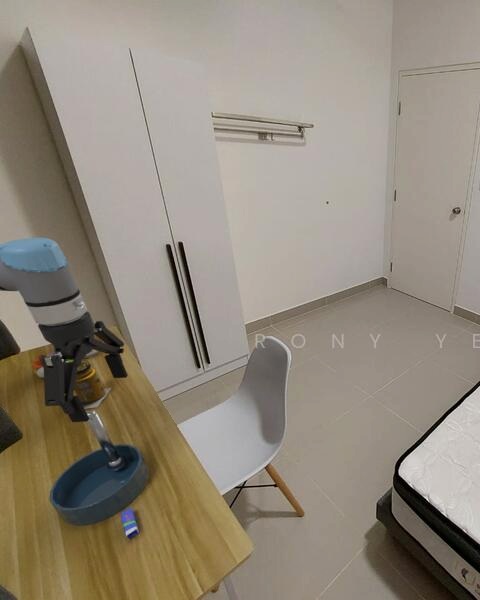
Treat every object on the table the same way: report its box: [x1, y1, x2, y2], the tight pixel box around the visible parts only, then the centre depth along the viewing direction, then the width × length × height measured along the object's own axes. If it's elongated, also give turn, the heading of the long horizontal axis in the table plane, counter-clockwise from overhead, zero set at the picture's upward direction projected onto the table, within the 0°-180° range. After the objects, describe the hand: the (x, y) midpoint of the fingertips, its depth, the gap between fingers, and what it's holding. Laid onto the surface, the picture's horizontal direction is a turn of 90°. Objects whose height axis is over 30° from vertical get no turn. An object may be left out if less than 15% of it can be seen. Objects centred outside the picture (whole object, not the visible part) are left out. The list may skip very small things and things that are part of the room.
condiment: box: [74, 361, 112, 410], centre depth 99 cm, size 7×8×12 cm
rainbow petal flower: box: [30, 350, 74, 379], centre depth 110 cm, size 8×10×7 cm
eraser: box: [120, 507, 140, 540], centre depth 71 cm, size 2×6×2 cm, turn 44°
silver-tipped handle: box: [86, 410, 126, 471], centre depth 77 cm, size 4×4×19 cm
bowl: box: [49, 443, 150, 527], centre depth 76 cm, size 16×16×6 cm
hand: (102, 397), depth 74 cm, fingers open, 13 cm apart
